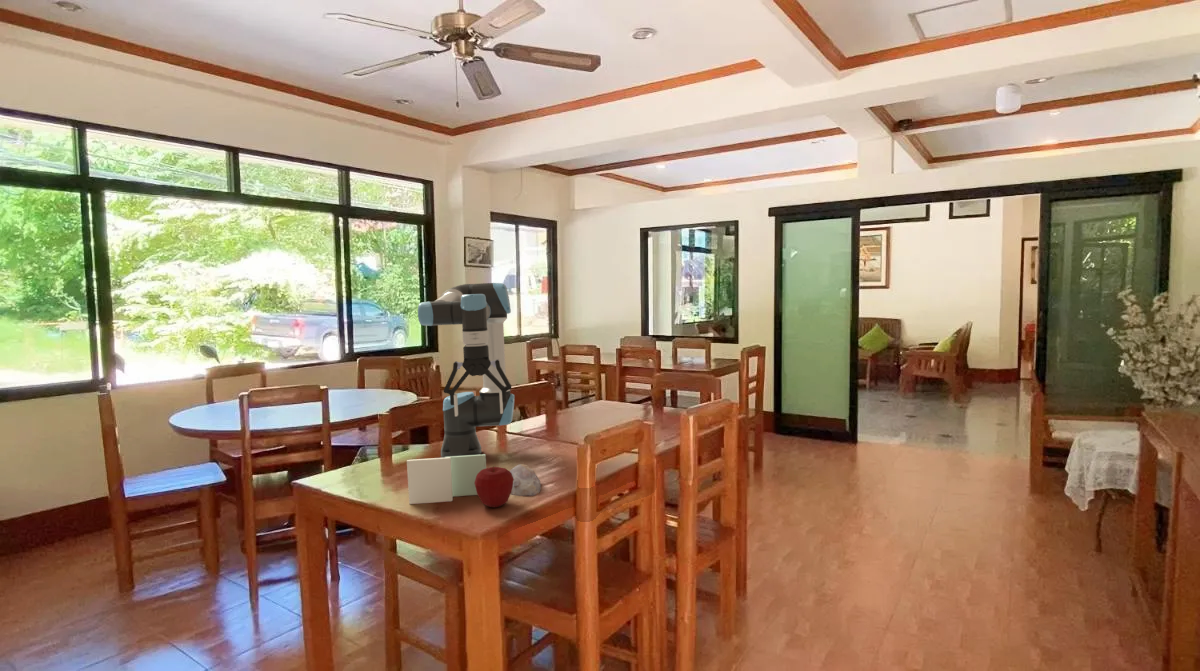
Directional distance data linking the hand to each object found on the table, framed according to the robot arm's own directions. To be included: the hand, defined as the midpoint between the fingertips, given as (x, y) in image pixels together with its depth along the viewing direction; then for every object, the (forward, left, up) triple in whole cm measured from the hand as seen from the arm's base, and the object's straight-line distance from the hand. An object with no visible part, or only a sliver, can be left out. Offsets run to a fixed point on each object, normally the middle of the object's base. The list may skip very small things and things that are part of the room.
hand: (479, 414), depth 193 cm
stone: (-2, +12, -25) cm, 28 cm away
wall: (+6, -15, -24) cm, 29 cm away
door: (0, -5, -24) cm, 25 cm away
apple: (+13, +4, -25) cm, 28 cm away
